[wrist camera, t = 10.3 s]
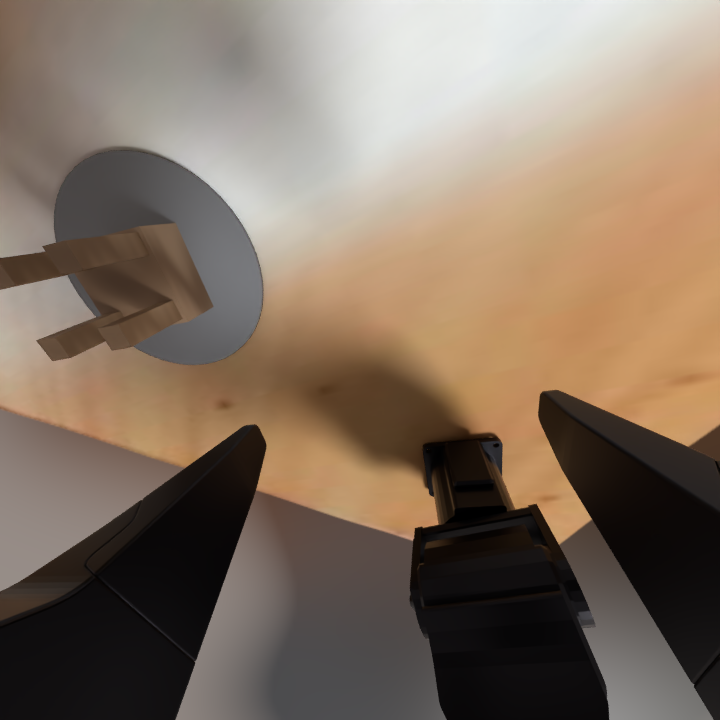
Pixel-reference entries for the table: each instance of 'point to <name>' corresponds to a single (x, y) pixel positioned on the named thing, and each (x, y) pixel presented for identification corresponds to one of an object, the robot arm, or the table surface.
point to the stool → (118, 285)
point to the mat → (198, 229)
